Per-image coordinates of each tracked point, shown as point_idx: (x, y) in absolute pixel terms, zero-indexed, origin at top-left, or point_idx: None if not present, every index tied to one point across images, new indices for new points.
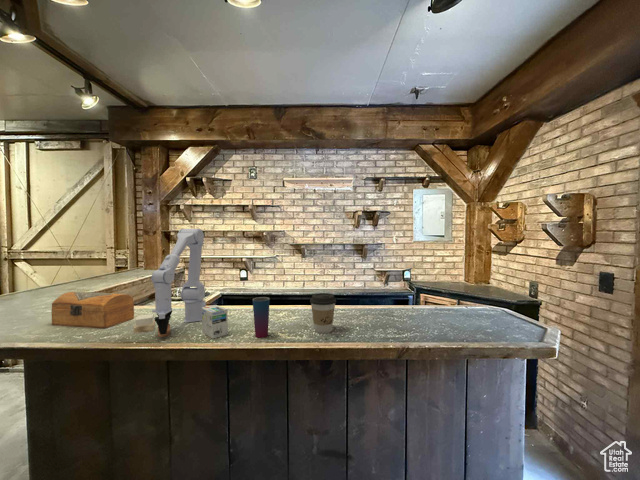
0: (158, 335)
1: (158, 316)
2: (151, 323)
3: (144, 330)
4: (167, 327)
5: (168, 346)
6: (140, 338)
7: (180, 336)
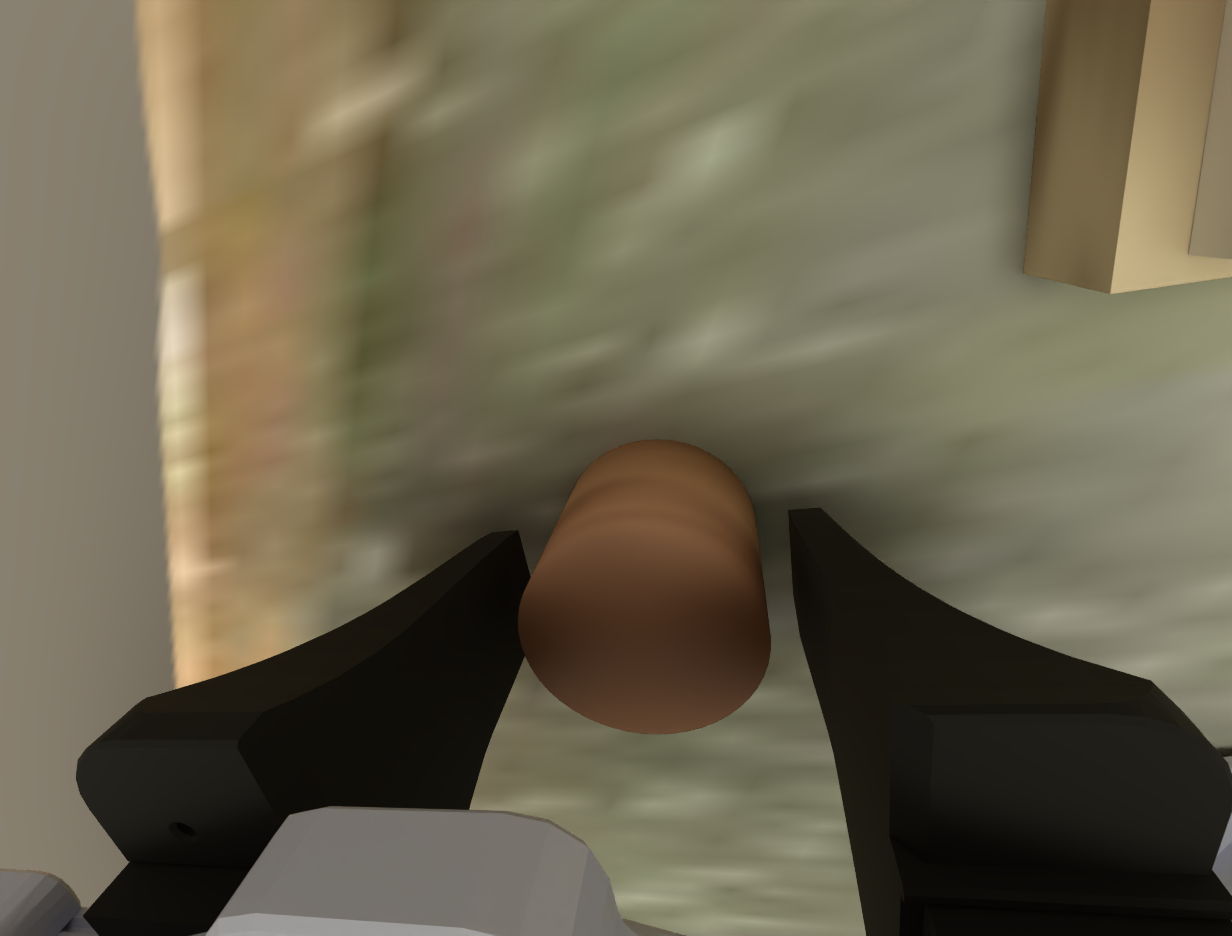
0: (595, 464)
1: (863, 670)
2: (1220, 229)
3: (1064, 52)
4: (499, 700)
5: (207, 634)
6: (585, 133)
7: (517, 722)
